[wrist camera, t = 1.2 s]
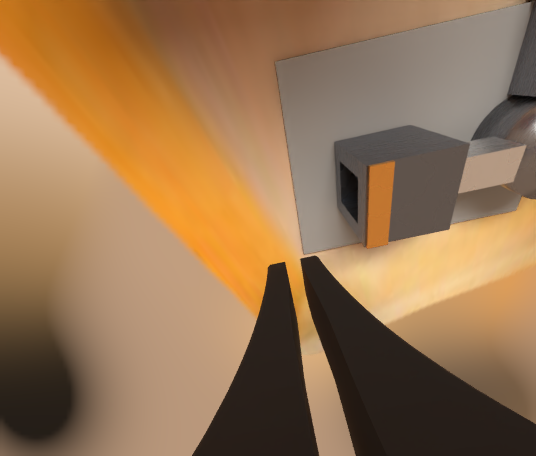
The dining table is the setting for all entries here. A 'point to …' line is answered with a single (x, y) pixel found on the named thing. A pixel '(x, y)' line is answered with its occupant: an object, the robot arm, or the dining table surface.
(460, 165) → the socket
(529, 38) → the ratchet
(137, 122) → the dining table surface
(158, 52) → the dining table surface
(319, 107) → the mat
